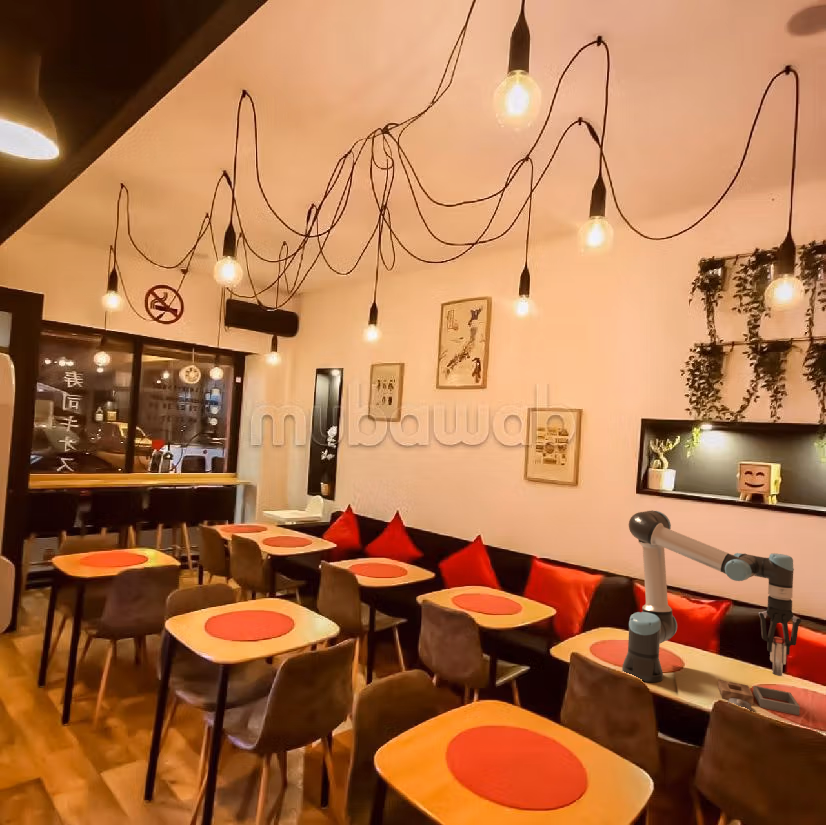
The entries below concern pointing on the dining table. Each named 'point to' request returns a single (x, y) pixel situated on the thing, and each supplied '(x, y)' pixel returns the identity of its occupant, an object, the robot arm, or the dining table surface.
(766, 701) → the tray
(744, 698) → the tensioner block
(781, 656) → the lock pin
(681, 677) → the dining table surface
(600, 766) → the dining table surface
